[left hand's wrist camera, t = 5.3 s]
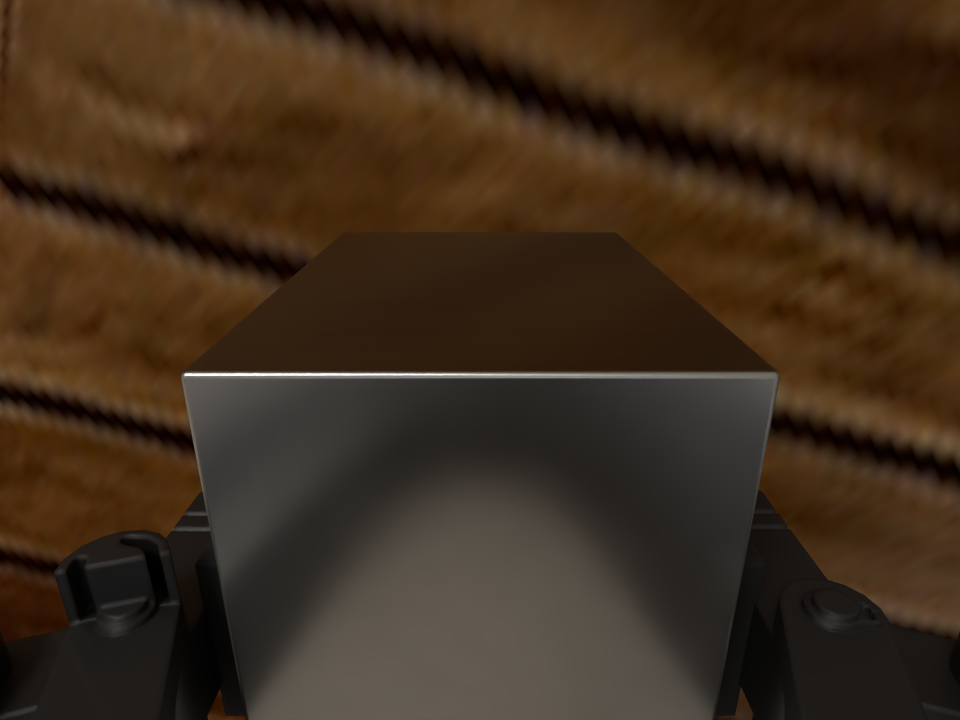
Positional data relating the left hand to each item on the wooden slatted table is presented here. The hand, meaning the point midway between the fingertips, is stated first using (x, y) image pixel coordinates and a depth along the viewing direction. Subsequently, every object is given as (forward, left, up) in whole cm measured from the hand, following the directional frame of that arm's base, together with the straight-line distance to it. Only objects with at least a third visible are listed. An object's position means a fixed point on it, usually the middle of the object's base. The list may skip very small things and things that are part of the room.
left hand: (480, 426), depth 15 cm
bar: (-2, +8, 0) cm, 8 cm away
